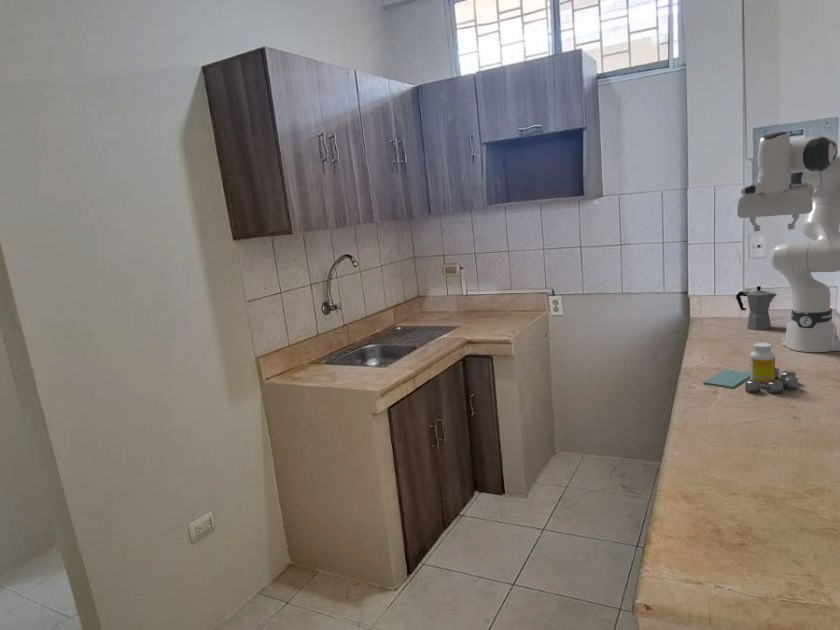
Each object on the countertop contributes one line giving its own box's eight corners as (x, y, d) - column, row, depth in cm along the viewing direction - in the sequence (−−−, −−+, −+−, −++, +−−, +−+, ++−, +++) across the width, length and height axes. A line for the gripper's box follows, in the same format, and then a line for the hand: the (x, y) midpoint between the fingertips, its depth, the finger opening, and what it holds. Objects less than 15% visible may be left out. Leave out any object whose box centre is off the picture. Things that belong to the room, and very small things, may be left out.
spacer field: (767, 375, 183) (767, 366, 182) (808, 380, 174) (808, 371, 174) (743, 391, 171) (743, 382, 171) (785, 398, 162) (786, 388, 162)
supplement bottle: (778, 387, 172) (778, 346, 169) (754, 388, 173) (754, 348, 171) (770, 380, 178) (770, 341, 176) (747, 381, 180) (746, 342, 177)
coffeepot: (779, 326, 239) (779, 284, 236) (773, 331, 233) (773, 288, 229) (739, 324, 250) (739, 284, 247) (732, 328, 244) (732, 287, 240)
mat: (724, 370, 192) (724, 369, 192) (753, 374, 185) (753, 373, 185) (703, 383, 182) (703, 382, 182) (733, 388, 175) (733, 386, 175)
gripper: (815, 181, 171) (815, 227, 174) (741, 189, 186) (741, 231, 188) (811, 182, 167) (811, 229, 169) (735, 190, 181) (735, 233, 184)
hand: (773, 230), depth 179 cm, fingers open, 8 cm apart
